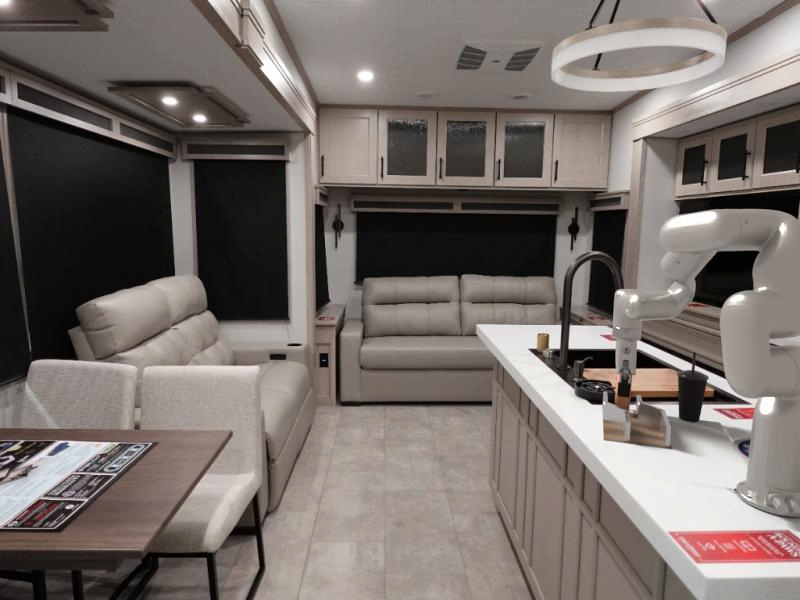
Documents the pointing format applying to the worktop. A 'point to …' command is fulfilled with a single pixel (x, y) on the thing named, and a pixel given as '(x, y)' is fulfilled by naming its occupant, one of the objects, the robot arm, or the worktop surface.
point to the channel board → (635, 433)
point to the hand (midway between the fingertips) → (622, 391)
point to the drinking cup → (691, 393)
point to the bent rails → (643, 413)
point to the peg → (622, 401)
